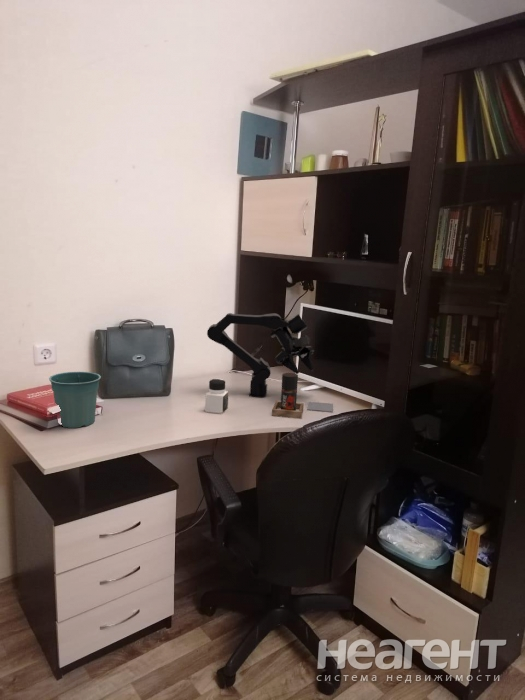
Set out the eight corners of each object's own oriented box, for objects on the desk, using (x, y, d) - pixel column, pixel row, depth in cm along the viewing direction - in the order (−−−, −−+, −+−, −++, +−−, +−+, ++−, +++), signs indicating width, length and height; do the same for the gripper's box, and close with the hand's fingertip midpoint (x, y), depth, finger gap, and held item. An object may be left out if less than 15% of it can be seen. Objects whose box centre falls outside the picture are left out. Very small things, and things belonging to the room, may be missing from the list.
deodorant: (297, 411, 193) (299, 374, 190) (293, 416, 188) (295, 377, 185) (282, 409, 195) (284, 372, 192) (278, 413, 189) (280, 375, 186)
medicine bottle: (222, 414, 186) (223, 383, 184) (204, 412, 188) (205, 381, 185) (228, 408, 193) (229, 378, 191) (210, 406, 194) (211, 376, 192)
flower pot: (83, 411, 183) (81, 368, 179) (111, 421, 173) (110, 377, 170) (41, 422, 170) (38, 377, 166) (69, 434, 160) (67, 386, 157)
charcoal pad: (307, 410, 195) (307, 409, 195) (308, 402, 205) (308, 401, 205) (332, 412, 194) (332, 411, 194) (333, 404, 203) (333, 403, 203)
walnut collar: (271, 415, 187) (272, 409, 186) (275, 406, 197) (276, 400, 197) (301, 418, 185) (301, 412, 185) (303, 409, 196) (303, 403, 195)
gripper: (283, 330, 194) (302, 363, 189) (312, 327, 207) (331, 358, 202) (267, 346, 201) (285, 379, 196) (296, 342, 214) (314, 372, 209)
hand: (305, 371), depth 201 cm, fingers open, 9 cm apart
